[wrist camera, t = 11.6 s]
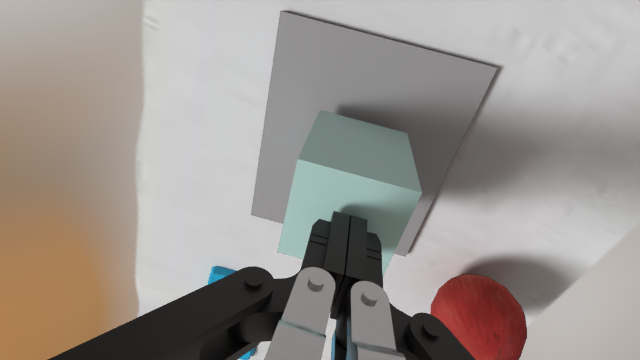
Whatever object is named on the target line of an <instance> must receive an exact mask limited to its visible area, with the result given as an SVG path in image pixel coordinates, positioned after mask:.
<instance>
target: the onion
mask: <svg viewBox="0 0 640 360" xmlns="http://www.w3.org/2000/svg"><path fill="white" fill-rule="evenodd" d="M431 315H433V316H435V317H436V318H438V319H439V320H440V321H442V322H443V323H444V325H445V326H446V327H447V328H448V329H449V330H450V331H451V332H452V334H453V335H454V336H455V337H456V338H457V339H458V340H459V341H460V343H461V344H462V345H463V346H464V347H465V348H466V349H467V350H468V352H469V353H470V354H471V355H472V356H473V357H474V358H475V359H476V360H519V358H520V356H521V353H522V350H523V347H524V344H525V341H526V339H527V327H526V320H525V315H524V312H523V310H522V308H521V306H520V304H519V303H518V302H517V301H516V299H515V298H514V297H513V296H512V294H511V293H510V292H509V291H508V289H507V288H506V287H504V286H503V285H501V284H499V283H497V282H495V281H494V280H492V279H490V278H488V277H485V276H479V275H472V274H470V275H460V276H457V277H454V278H451V279H450V280H449V281H447V282H446V283H445V284H444V285H443V286H442V287H440V288H439V290H438V292H437V294H436V296H435V298H434V300H433V302H432V304H431Z"/></svg>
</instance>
